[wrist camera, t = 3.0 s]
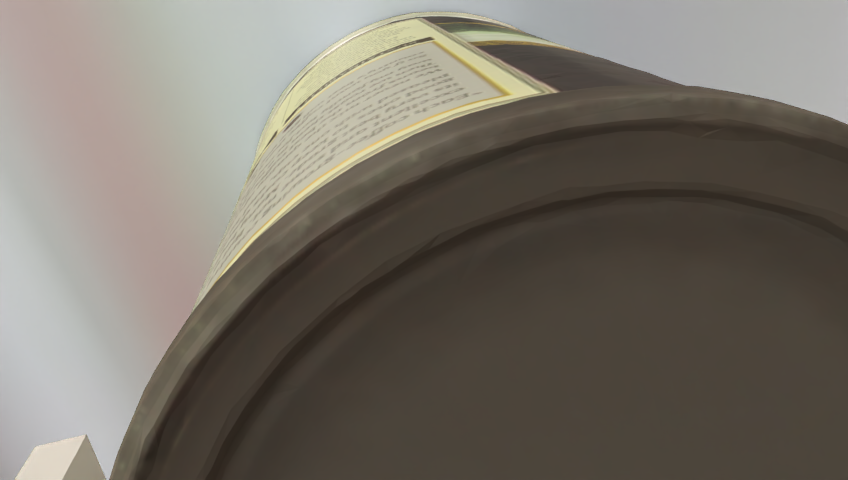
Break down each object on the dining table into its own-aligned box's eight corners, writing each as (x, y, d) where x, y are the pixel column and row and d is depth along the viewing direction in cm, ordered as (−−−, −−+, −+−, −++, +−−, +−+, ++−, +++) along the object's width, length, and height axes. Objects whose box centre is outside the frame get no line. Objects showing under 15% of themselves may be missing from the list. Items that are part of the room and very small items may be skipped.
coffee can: (609, -16, 19) (1192, 25, 6) (613, 333, 23) (989, 817, 10) (211, 30, 19) (-68, 186, 6) (281, 384, 22) (213, 982, 9)
